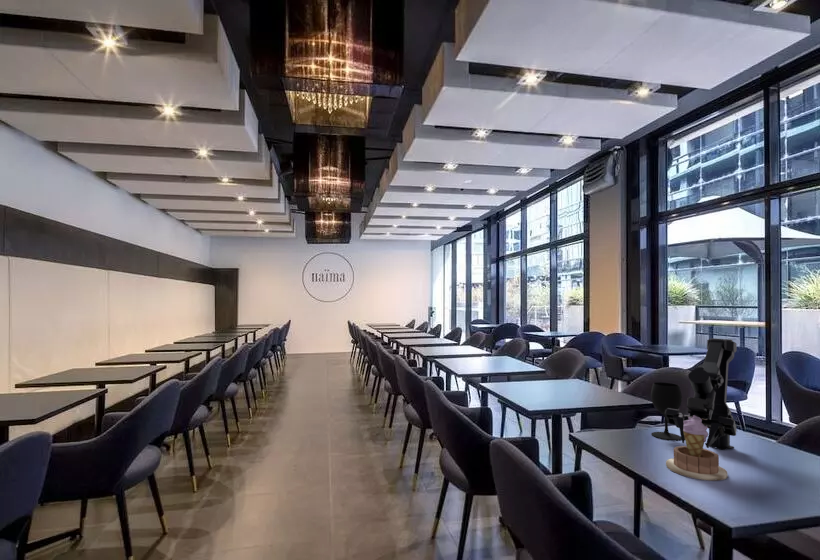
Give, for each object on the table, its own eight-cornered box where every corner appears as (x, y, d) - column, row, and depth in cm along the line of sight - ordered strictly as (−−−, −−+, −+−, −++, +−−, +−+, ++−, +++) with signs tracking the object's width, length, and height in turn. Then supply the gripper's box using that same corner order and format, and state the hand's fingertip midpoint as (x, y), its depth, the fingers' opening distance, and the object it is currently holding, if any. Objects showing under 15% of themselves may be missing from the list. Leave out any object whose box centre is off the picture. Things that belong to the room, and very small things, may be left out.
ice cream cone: (708, 464, 141) (707, 415, 142) (709, 470, 136) (709, 420, 136) (683, 460, 144) (682, 412, 145) (683, 466, 139) (683, 417, 140)
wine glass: (678, 434, 178) (678, 383, 179) (685, 442, 168) (684, 387, 169) (649, 431, 181) (648, 381, 182) (653, 438, 171) (653, 385, 172)
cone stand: (690, 458, 150) (690, 441, 150) (740, 476, 135) (740, 458, 135) (654, 464, 145) (654, 446, 145) (701, 483, 130) (701, 464, 130)
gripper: (665, 383, 150) (655, 423, 142) (734, 392, 137) (727, 436, 129) (672, 403, 156) (663, 443, 147) (739, 413, 142) (733, 458, 134)
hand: (694, 444), depth 139 cm, fingers closed on ice cream cone, 6 cm apart
